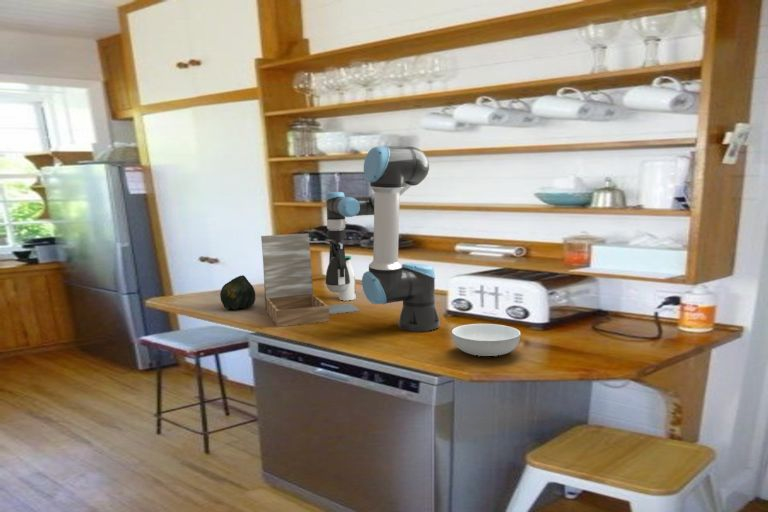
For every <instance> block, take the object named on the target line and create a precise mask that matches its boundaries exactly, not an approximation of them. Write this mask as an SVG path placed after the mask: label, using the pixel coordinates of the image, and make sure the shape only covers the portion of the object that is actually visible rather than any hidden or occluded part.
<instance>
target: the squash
mask: <svg viewBox="0 0 768 512" xmlns="http://www.w3.org/2000/svg"><path fill="white" fill-rule="evenodd" d="M219 297H220V301H221V303H222V305H223V307H224V308H225V309H226V310H228V309H233V310H238V309H239V308H240V309H246V308H245V307H248V308H250V307H252V306H253V305H254V304H255V302H256V291H255V288H254V286H253V285H252V283H251V282H250V281H249V279H248V278H247V277H246V276H245V275H244V274H243V275H239V276H236V277H234V278H233V279H230V280H229V281H228V282H227V283H225V284H224V285H223V286H222V287H221V290H220V293H219Z"/></svg>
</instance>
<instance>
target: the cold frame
mask: <svg viewBox="0 0 768 512" xmlns="http://www.w3.org/2000/svg"><path fill="white" fill-rule="evenodd" d="M260 238H261V251H262V265H263V266H262V267H263V269H262V270H263V282H264V283H263V284H264V285H263V286H264V303H265V304H264V305H265V310H266V309H267V310H266V314H267V313H268V314H269V315H270V316H269V315H268V314H267V315H268V316H269V318H270V317H271V318H272V319H271V318H270V319H271V320H272V322H273V321H274V322H275V323H274V322H273V323H274V325H275V326H276V325H277V326H276V328H279V327H278V326H283V327H289V326H288V325H292V326H299V325H298V324H301V325H308V324H309V323H310V324H317V323H316V322H319V323H325V322H326V321H328V322H330V315H329V306H328V304H327V303H326V302H324V301H323V300H322V299H321V298H319V297H317V295H315V294H314V284H313V273H312V270H313V269H312V259H311V257H312V256H311V248H310V233H294V234H293V233H292V234H289V233H288V234H276V235H275V234H273V235H261V237H260Z"/></svg>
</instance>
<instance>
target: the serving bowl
mask: <svg viewBox="0 0 768 512" xmlns="http://www.w3.org/2000/svg"><path fill="white" fill-rule="evenodd" d="M451 338H452V341H453V344H455V346H456V347H457V348H458V349H459V350H461V351H462V352H464V353H467V354H469V355H473V356H476V355H478V356H477V357H480V356H494V357H498V355H499V356H502V355H507V354H508V353H511V352H512V351H514V349H516V348H517V346H518V345H519V343H520V340H521V331H520V330H519V329H517V328H515V327H513V326H507V325H503V324H496V323H495V324H494V323H472V324H471V323H470V324H464V325H463V324H462V325H459V326H456V327H454V328H452V330H451Z"/></svg>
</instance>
